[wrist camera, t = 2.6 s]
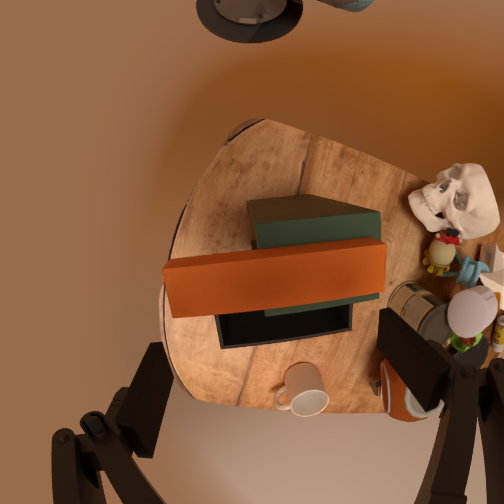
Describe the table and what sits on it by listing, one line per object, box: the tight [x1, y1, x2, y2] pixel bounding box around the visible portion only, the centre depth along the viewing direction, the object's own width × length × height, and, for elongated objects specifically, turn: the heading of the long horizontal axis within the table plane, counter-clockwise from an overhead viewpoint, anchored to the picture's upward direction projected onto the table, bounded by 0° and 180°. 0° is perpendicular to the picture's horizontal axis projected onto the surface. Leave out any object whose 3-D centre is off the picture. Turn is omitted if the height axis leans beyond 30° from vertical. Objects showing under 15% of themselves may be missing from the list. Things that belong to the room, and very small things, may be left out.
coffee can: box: [388, 282, 453, 345], centre depth 52 cm, size 10×10×14 cm
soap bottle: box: [447, 285, 501, 338], centre depth 45 cm, size 9×9×25 cm
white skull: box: [408, 163, 500, 240], centre depth 47 cm, size 14×20×19 cm
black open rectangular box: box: [215, 303, 353, 349], centre depth 50 cm, size 22×9×13 cm, turn 96°
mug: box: [273, 363, 329, 417], centre depth 58 cm, size 12×8×10 cm
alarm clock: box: [380, 358, 444, 422], centre depth 50 cm, size 19×18×17 cm
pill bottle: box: [492, 315, 504, 352], centre depth 62 cm, size 6×6×12 cm
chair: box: [440, 252, 490, 289], centre depth 52 cm, size 8×8×12 cm
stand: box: [246, 195, 381, 317], centre depth 40 cm, size 12×9×28 cm
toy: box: [423, 227, 463, 276], centre depth 51 cm, size 7×7×15 cm
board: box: [450, 336, 489, 369], centre depth 63 cm, size 22×22×5 cm
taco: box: [444, 296, 482, 352], centre depth 54 cm, size 16×5×15 cm, turn 25°
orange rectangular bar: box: [162, 237, 386, 318], centre depth 25 cm, size 19×4×3 cm, turn 96°
